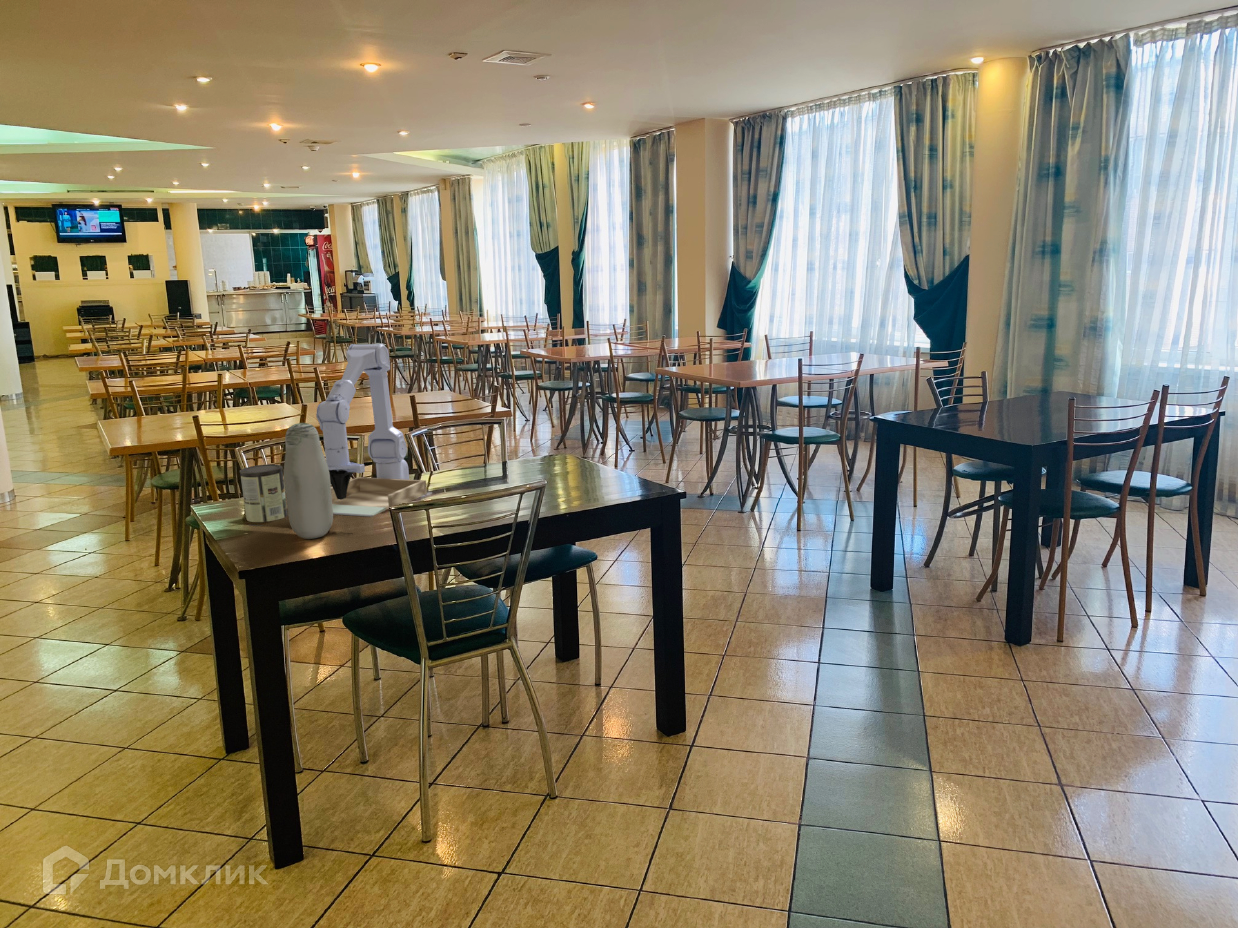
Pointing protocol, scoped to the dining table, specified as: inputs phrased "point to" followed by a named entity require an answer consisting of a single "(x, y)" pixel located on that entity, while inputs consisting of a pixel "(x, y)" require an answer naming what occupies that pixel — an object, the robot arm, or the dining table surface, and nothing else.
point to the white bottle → (307, 483)
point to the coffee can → (263, 493)
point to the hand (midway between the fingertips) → (341, 498)
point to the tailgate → (356, 510)
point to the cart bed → (380, 492)
